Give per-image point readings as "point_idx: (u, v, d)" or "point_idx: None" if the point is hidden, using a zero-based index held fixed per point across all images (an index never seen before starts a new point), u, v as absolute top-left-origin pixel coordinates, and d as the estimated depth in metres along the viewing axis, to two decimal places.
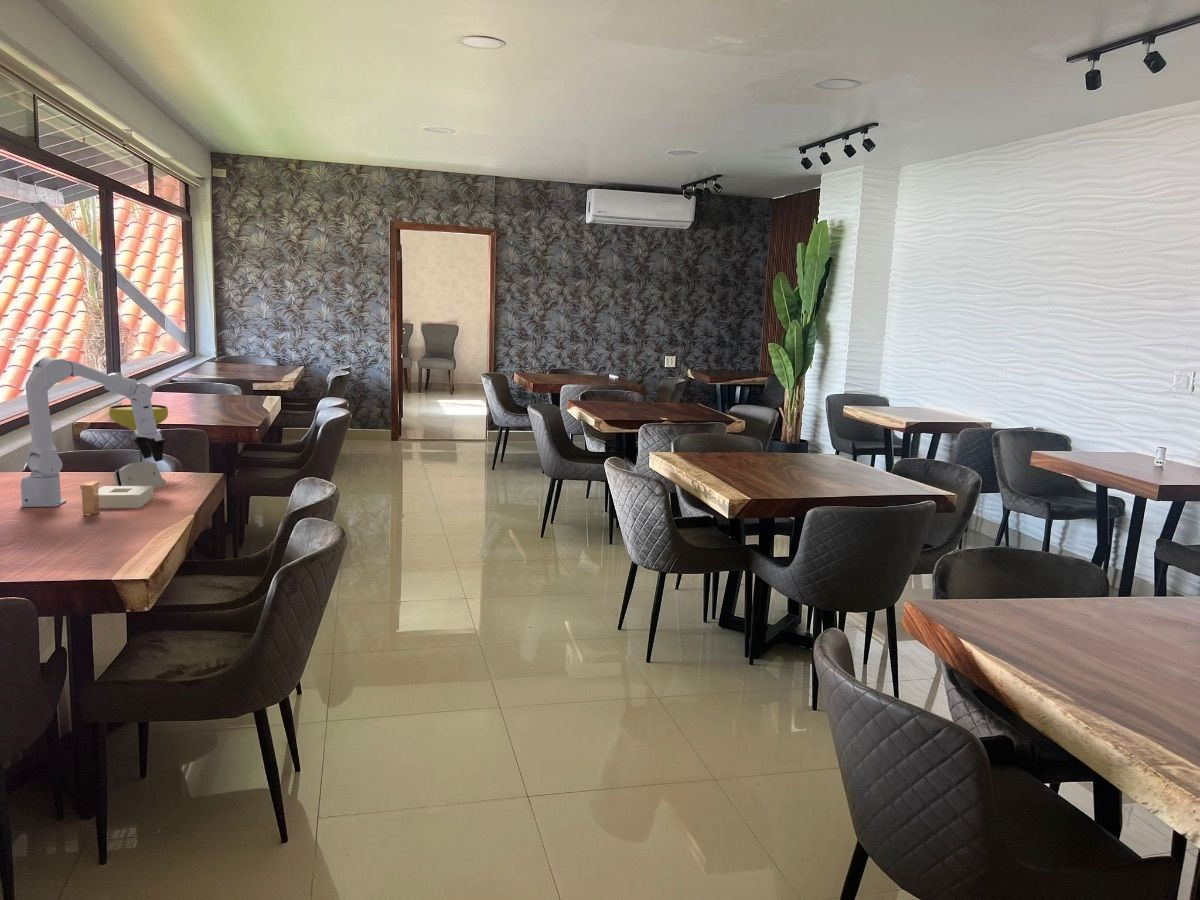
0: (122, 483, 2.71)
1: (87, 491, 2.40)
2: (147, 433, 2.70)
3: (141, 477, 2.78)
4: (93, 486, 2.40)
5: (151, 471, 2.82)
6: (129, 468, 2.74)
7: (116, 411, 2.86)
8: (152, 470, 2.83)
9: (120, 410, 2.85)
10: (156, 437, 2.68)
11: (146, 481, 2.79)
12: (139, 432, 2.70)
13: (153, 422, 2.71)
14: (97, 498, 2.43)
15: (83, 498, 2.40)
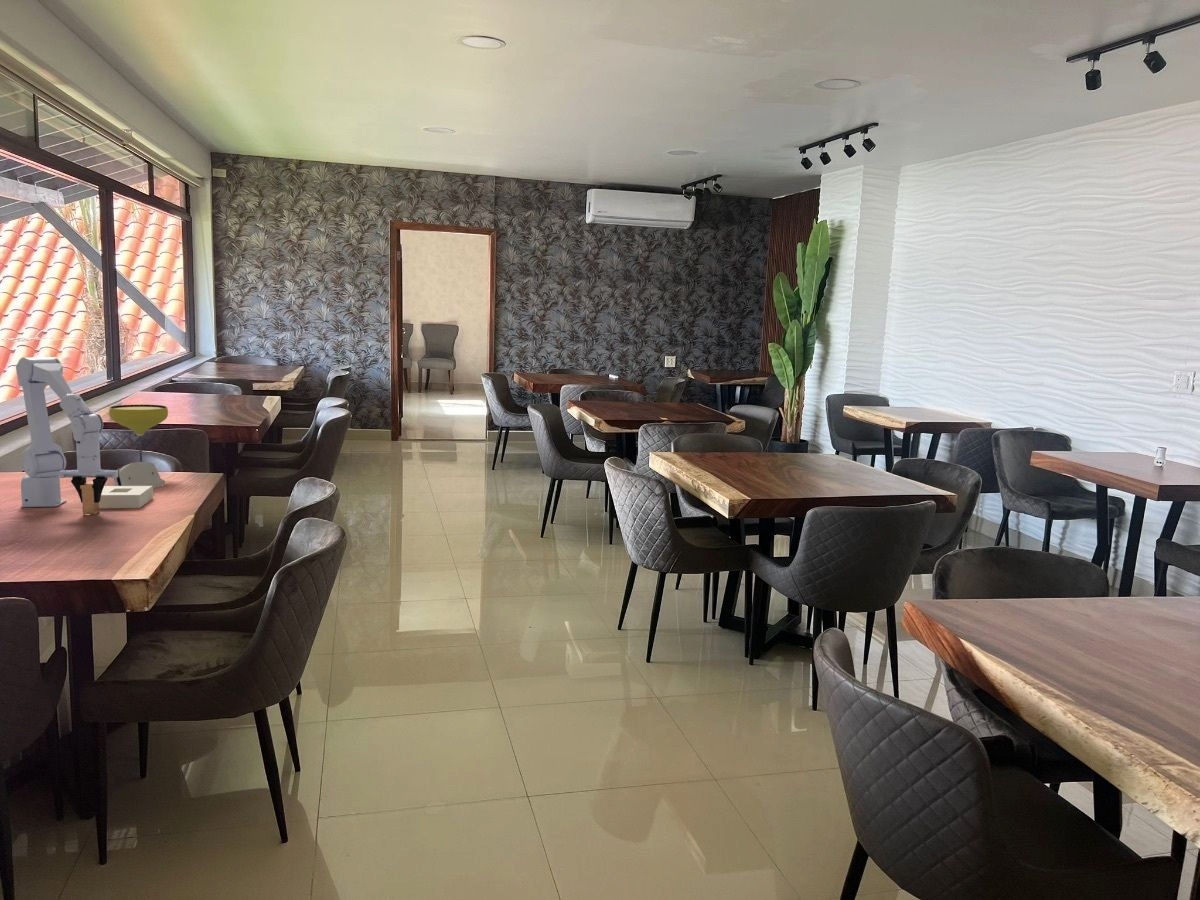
0: (122, 483, 2.70)
1: (87, 491, 2.40)
2: None
3: (140, 477, 2.77)
4: (93, 486, 2.40)
5: (150, 471, 2.82)
6: (129, 468, 2.74)
7: (116, 411, 2.86)
8: (151, 470, 2.83)
9: (120, 410, 2.85)
10: None
11: (145, 482, 2.79)
12: None
13: (77, 460, 2.38)
14: None
15: (83, 498, 2.40)
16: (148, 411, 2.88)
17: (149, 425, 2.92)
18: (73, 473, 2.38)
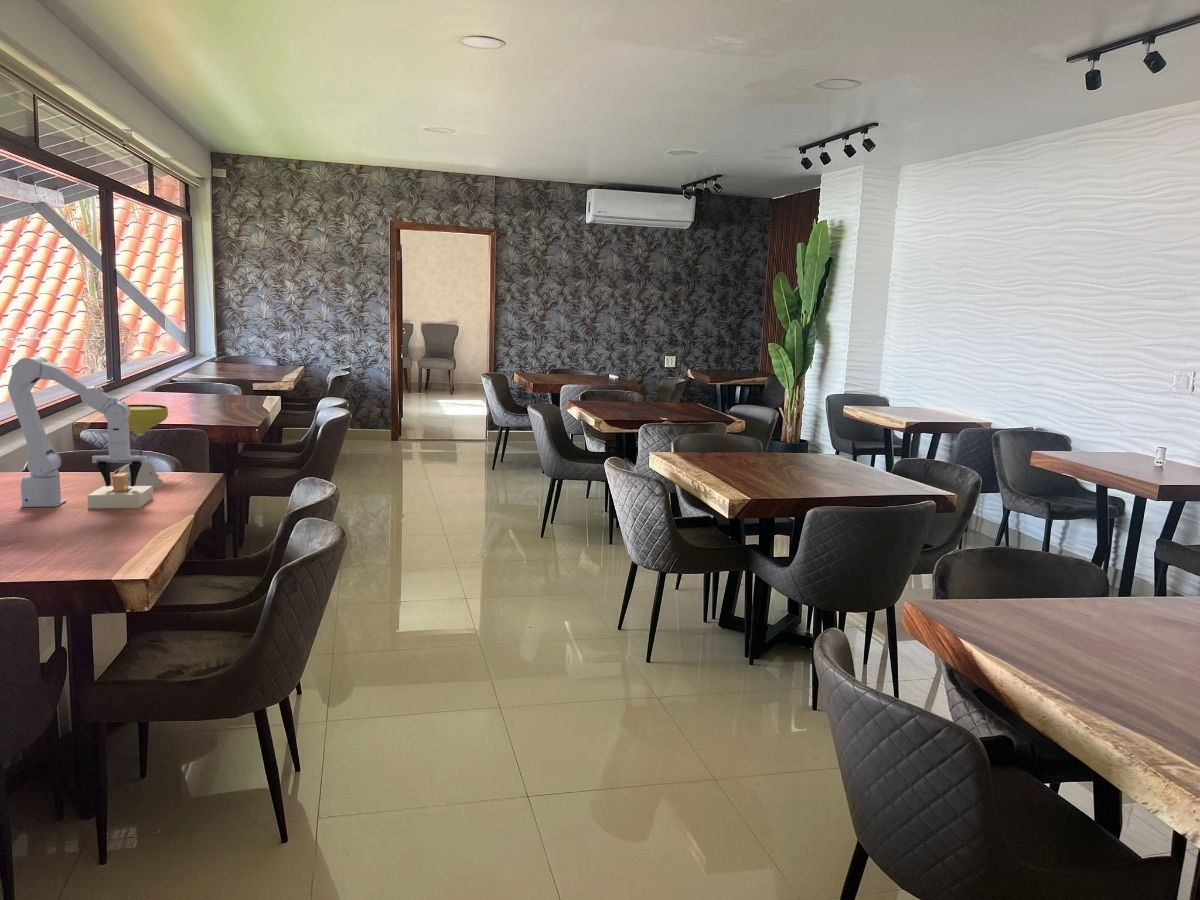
0: None
1: (118, 482, 2.54)
2: None
3: (139, 477, 2.77)
4: (124, 477, 2.54)
5: (148, 471, 2.82)
6: (128, 468, 2.74)
7: None
8: (149, 470, 2.82)
9: None
10: None
11: (144, 482, 2.79)
12: None
13: (108, 446, 2.53)
14: (127, 488, 2.58)
15: (114, 488, 2.54)
16: (148, 411, 2.88)
17: (149, 425, 2.92)
18: (105, 458, 2.52)
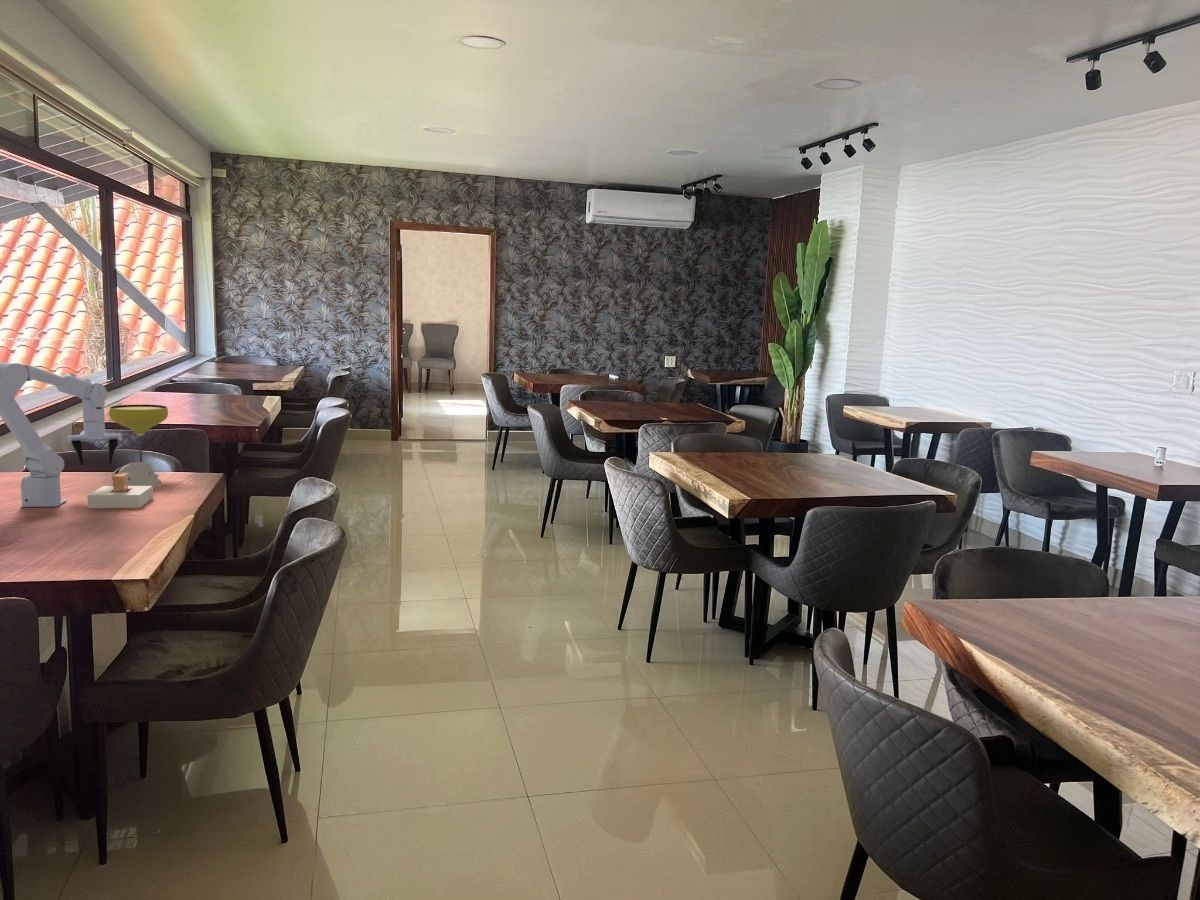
0: None
1: (118, 482, 2.54)
2: None
3: (139, 477, 2.77)
4: (123, 477, 2.54)
5: (147, 471, 2.82)
6: (128, 469, 2.73)
7: (116, 411, 2.86)
8: (147, 470, 2.82)
9: (120, 410, 2.85)
10: (67, 437, 2.59)
11: (143, 482, 2.78)
12: None
13: (85, 425, 2.59)
14: (127, 488, 2.58)
15: (114, 488, 2.54)
16: (148, 411, 2.88)
17: (149, 425, 2.92)
18: (82, 437, 2.59)
